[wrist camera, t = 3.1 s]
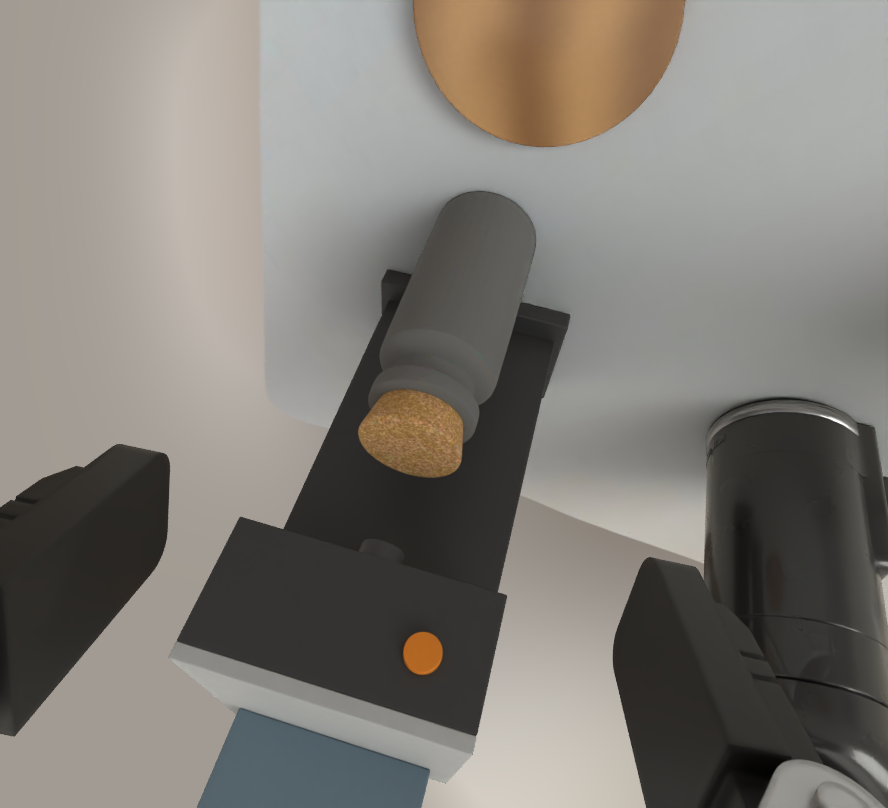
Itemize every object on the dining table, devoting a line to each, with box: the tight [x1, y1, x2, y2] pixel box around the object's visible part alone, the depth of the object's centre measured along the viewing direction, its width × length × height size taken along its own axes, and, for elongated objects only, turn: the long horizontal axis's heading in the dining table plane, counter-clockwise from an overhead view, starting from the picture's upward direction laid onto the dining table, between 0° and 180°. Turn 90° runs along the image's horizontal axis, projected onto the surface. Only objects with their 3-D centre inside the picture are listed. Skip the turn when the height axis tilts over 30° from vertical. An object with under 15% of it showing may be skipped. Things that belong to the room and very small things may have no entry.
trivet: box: [413, 0, 685, 147], centre depth 26 cm, size 11×11×1 cm
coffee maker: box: [169, 270, 570, 808], centre depth 32 cm, size 12×12×30 cm
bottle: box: [358, 191, 536, 478], centre depth 32 cm, size 6×6×15 cm
